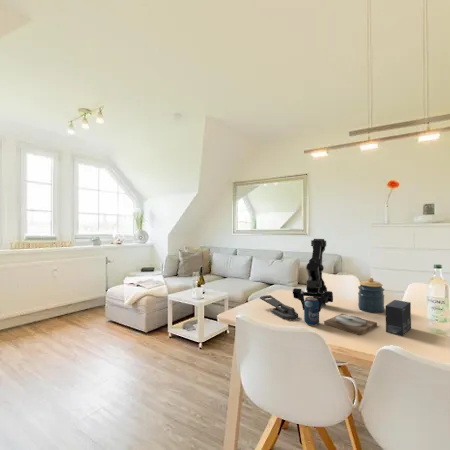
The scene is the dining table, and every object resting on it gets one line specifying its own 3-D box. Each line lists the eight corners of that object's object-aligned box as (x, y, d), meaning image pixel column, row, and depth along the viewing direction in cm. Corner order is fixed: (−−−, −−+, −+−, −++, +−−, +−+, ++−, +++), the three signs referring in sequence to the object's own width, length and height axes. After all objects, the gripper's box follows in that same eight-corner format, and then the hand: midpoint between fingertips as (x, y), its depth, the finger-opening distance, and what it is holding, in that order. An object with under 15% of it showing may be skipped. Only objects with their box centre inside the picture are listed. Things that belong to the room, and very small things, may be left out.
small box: (394, 324, 131) (394, 299, 131) (411, 328, 126) (411, 302, 126) (385, 332, 122) (385, 305, 122) (403, 336, 117) (402, 308, 117)
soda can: (310, 326, 129) (310, 301, 129) (301, 322, 135) (301, 297, 135) (322, 324, 132) (322, 299, 132) (312, 320, 138) (312, 296, 138)
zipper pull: (270, 294, 163) (300, 305, 141) (270, 305, 163) (301, 318, 141) (258, 296, 159) (287, 308, 137) (258, 308, 159) (287, 321, 137)
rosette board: (342, 316, 143) (342, 311, 143) (377, 325, 130) (376, 319, 130) (324, 324, 132) (324, 318, 132) (360, 335, 119) (360, 328, 119)
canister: (363, 304, 164) (362, 274, 164) (387, 309, 154) (387, 277, 154) (354, 309, 154) (354, 277, 154) (380, 314, 145) (379, 281, 145)
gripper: (293, 272, 141) (289, 299, 131) (332, 274, 133) (331, 303, 123) (295, 284, 148) (292, 311, 138) (333, 287, 140) (332, 316, 130)
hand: (311, 310), depth 132 cm, fingers open, 7 cm apart
